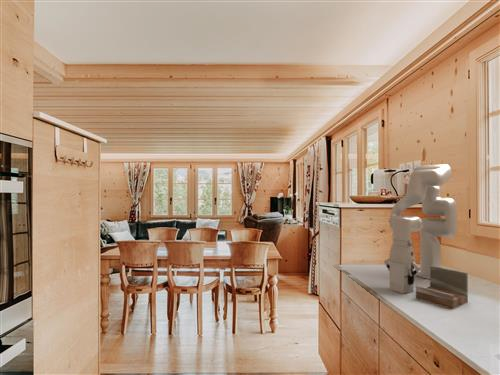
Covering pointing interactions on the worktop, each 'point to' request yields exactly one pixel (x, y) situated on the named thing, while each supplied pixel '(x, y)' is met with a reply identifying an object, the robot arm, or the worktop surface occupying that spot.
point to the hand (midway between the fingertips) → (401, 281)
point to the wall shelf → (445, 287)
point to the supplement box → (400, 278)
